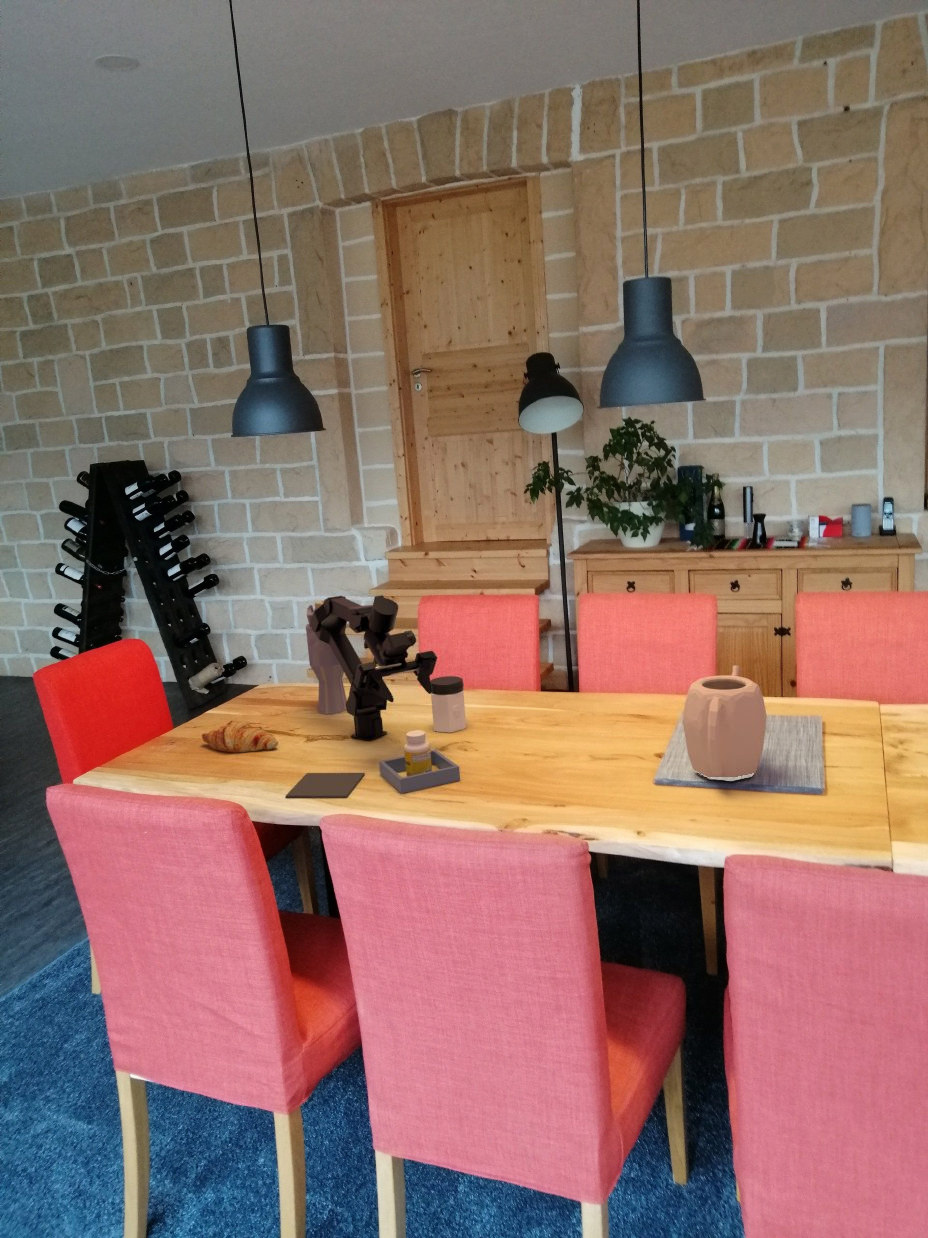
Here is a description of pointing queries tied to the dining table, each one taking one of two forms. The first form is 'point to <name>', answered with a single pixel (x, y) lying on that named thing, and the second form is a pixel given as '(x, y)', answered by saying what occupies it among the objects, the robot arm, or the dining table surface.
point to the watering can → (724, 725)
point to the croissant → (239, 738)
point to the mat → (325, 785)
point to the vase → (325, 670)
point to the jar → (448, 704)
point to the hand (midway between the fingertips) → (411, 696)
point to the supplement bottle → (417, 753)
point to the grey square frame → (420, 781)
